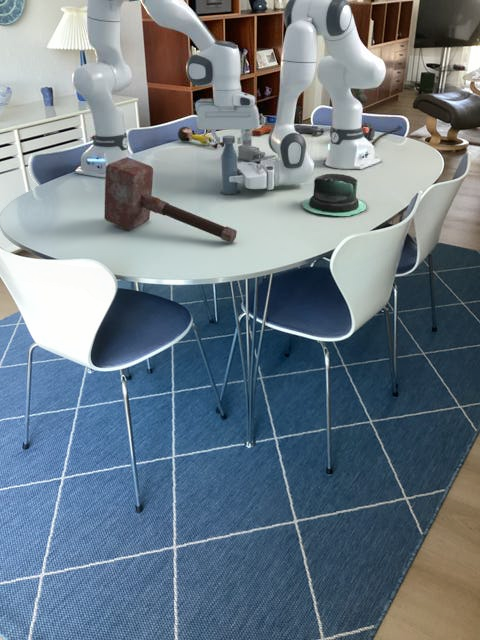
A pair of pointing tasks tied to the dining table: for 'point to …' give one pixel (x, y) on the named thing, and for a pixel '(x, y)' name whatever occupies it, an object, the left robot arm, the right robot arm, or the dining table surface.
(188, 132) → the figurine
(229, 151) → the bottle
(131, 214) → the sledgehammer
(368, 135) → the toy
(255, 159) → the camera
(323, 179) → the round two-tone rimmed part
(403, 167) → the dining table surface
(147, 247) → the dining table surface
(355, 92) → the statue
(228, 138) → the cap
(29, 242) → the dining table surface
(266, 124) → the submachine gun
